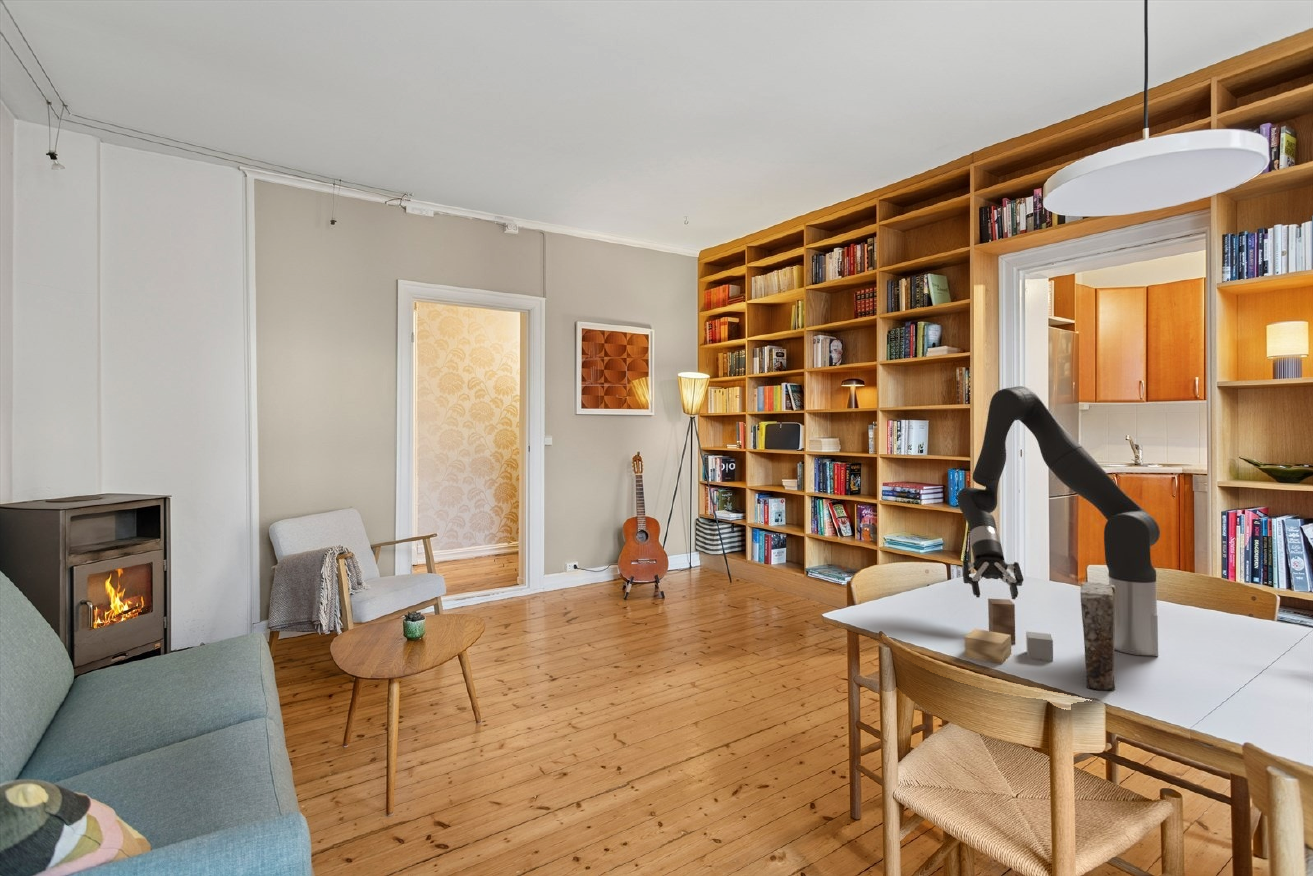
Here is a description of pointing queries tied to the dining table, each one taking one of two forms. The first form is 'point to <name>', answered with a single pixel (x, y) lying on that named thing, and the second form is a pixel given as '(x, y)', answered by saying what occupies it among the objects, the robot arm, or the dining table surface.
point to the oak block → (988, 646)
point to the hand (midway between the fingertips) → (996, 597)
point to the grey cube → (1039, 646)
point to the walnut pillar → (1002, 617)
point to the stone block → (1099, 633)
